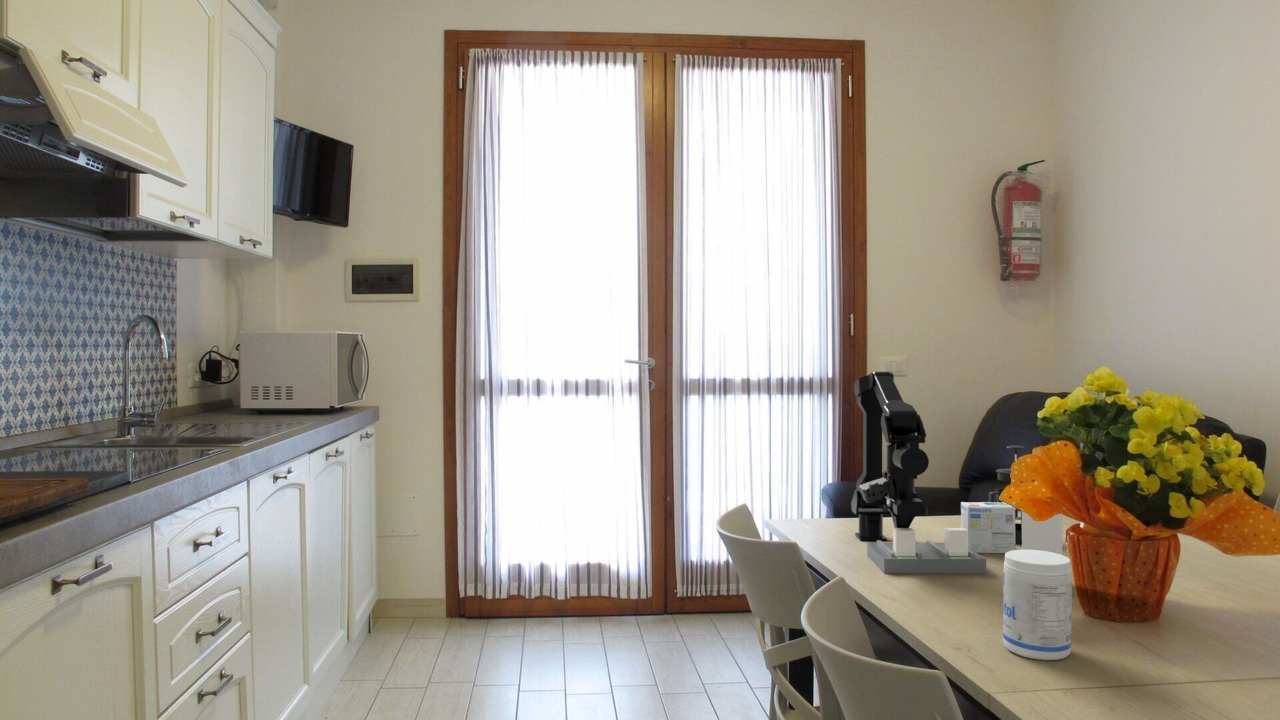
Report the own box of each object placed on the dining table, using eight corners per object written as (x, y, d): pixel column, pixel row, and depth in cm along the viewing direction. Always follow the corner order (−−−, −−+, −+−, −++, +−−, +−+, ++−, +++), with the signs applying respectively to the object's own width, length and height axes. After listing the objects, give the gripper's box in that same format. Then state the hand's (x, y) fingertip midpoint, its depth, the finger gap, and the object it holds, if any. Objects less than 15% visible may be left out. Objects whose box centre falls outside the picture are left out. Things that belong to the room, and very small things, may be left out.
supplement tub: (992, 640, 133) (992, 548, 133) (1051, 639, 134) (1051, 548, 133) (1021, 663, 124) (1021, 564, 123) (1084, 662, 124) (1084, 563, 124)
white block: (892, 552, 178) (892, 527, 178) (911, 553, 178) (911, 527, 178) (896, 556, 175) (896, 530, 175) (915, 556, 175) (915, 530, 175)
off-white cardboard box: (1061, 581, 167) (1061, 486, 166) (1062, 590, 160) (1062, 492, 160) (1022, 577, 170) (1022, 484, 169) (1021, 586, 163) (1021, 490, 163)
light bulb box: (1006, 547, 196) (1006, 501, 196) (1016, 554, 189) (1016, 506, 189) (959, 546, 197) (959, 501, 197) (968, 553, 190) (968, 506, 190)
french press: (1027, 535, 208) (1027, 443, 207) (1047, 544, 198) (1047, 447, 198) (981, 536, 207) (981, 444, 207) (999, 545, 198) (999, 448, 197)
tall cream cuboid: (944, 552, 178) (944, 527, 178) (963, 552, 178) (963, 527, 178) (948, 556, 175) (948, 530, 175) (968, 556, 175) (968, 530, 175)
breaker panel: (867, 555, 188) (867, 538, 188) (961, 555, 188) (961, 538, 188) (884, 573, 173) (884, 555, 173) (986, 573, 173) (986, 555, 173)
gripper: (853, 460, 188) (853, 529, 189) (873, 475, 170) (873, 551, 170) (902, 460, 188) (902, 529, 189) (928, 475, 169) (928, 551, 170)
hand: (900, 539), depth 179 cm, fingers closed
